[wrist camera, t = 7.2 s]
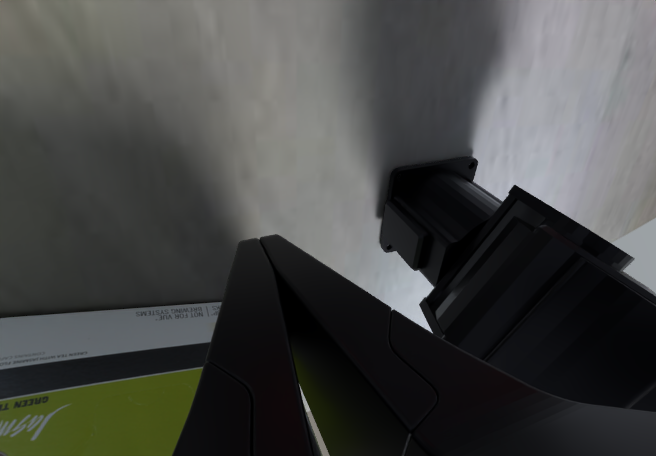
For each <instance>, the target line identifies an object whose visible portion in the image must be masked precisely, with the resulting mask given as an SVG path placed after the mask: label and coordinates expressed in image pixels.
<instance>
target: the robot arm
mask: <svg viewBox="0 0 656 456" xmlns="http://www.w3.org/2000/svg"><path fill="white" fill-rule="evenodd" d="M469 164H470V165H469ZM477 165H478V161H477V160H476V159H475V158H473V157H471V156H469V157H462V158H456V159H450V160H444V161H437V162H431V163H425V164H418V165H412V166H406V167H400V168H396V169H395V170H393V172H392V173H391V176H390V183H389V190H388V198H387V202H386V204H385V211H384V218H383V225H382V240H381V248H382V249H383V250H384V252H386V253H388V252H393V251H397V252H398V254H399V255H400V256H401V257H402V258H403V259H404V260H405V262H406V263H407V264H408V265H409V266H410V267H411V268H412V269H413V270H414V271H416V270H419V271H420V272H421V273H422V274H423V275H424V276H425V277H426V278H427V280H428V281H429V282H430V283H431V284H432V285H433V286H434V289H433V290H432V291H431V293H430V294H429V295H428V296H427V298H426V297H425V298H424V299H423V300H422V301H421V303H420V304H419V305H420V307H421V309H422V312H423V314H424V316H425V318H426V320H427V322H428V324H429V326H430V328H431V330H432V332H433V333H431V332H429V331H428V330H426V329H425V328H423V327H421V326H420V325H418V324H416V323H415V322H413V321H411V320H410V319H408V318H407V317H405V316H404V315H402V314H401V313H399V312H397V311H396V310H392V311H391V307H389V306H388V305H386V304H385V303H383V302H382V301H380V300H379V299H377V298H376V297H374V296H372V295H371V294H369V293H368V292H366V291H365V290H363V289H362V288H360V287H359V286H357V285H355V284H354V283H352V282H351V281H349V280H348V279H346V278H345V277H343V276H342V275H340V274H338V273H337V272H335V271H334V270H332V269H331V268H329V267H328V266H326V265H325V264H323V263H321V262H320V261H318V260H317V259H315V258H314V257H312V256H311V255H309V254H308V253H306V252H304V251H303V250H301V249H300V248H298V247H297V246H295V245H294V244H292V243H291V242H289V241H287V240H286V239H284V238H283V237H281V236H280V235H277V234H275V235H269V236H264V237H261V238H260V239H257V238H254V239H248V240H243V241H240V242H239V244H238V247H237V250H236V254H235V257H234V261H233V264H232V268H231V271H230V275H229V278H228V282H227V286H226V289H225V293H224V296H223V300H222V303H221V307H220V310H219V314H218V317H217V321H216V324H215V328H214V331H213V335H212V338H211V342H210V346H209V349H208V353H207V356H206V360H205V361H206V363H205V364H204V366H203V369H202V373H201V376H200V380H199V383H198V386H197V389H196V392H195V396H194V399H193V402H192V405H191V408H190V411H189V414H188V416H187V419H186V421H185V424H184V426H183V429H182V431H181V434H180V436H179V439H178V441H177V444H176V446H175V449H174V451H173V453H172V456H314V452H313V447H312V442H311V438H310V433H309V428H308V424H307V419H306V414H305V410H304V405H303V400H302V396H301V391H300V387H301V389H302V391H303V394H304V396H305V398H306V401H307V403H308V405H309V408H310V410H311V412H312V415H313V417H314V419H315V422H316V424H317V427H318V429H319V431H320V433H321V436H322V438H323V441H324V443H325V445H326V448H327V450H328V452H329V455H330V456H656V294H655V293H654V292H653V291H652V290H650V289H649V288H648V287H646V286H645V285H643V284H642V283H640V282H638V281H637V280H635V279H634V278H632V277H631V276H629V275H628V274H626V273H625V272H623V270H624V269H625V268H626V267H627V266H628V265H629V264H630V263H631V262H632V261H633V260H634V258H633V257H631V256H630V255H628V254H627V253H625V252H624V251H622V250H620V249H619V248H617V247H615V246H614V245H613V244H611V243H609V242H608V241H606V240H605V239H603V238H601V237H600V236H598V235H597V234H595V233H593V232H592V231H590V230H588V229H587V228H585V227H584V226H582V225H580V224H579V223H577V222H575V221H574V220H572V219H571V218H569V217H567V216H566V215H564V214H562V213H561V212H559V211H557V210H556V209H554V208H552V207H551V206H549V205H547V204H546V203H544V202H543V201H541V200H539V199H538V198H536V197H534V196H533V195H531V194H529V193H528V192H526V191H524V190H523V189H521V188H519V187H518V186H516V185H514V186H513V187H512V188H511V190H510V191H509V192H508V193H509V195H508V196H507V197H506V199H505V200H504V201H503V202H502V201H501V200H499V199H498V198H496V197H495V196H494V195H492V194H491V193H489V192H488V191H486V190H485V189H483V188H482V187H480V186H479V185H477V184H476V183H474V182H473V179H474V176H475V172H476V169H477ZM400 174H401V176H400V177H399V178H397V177H398V176H399V175H400ZM299 384H300V386H299Z"/></svg>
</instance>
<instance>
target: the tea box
mask: <svg viewBox="0 0 656 456" xmlns="http://www.w3.org/2000/svg"><path fill="white" fill-rule="evenodd" d="M221 303H222V302H214V303H201V304H186V305H173V306H159V307H145V308H131V309H118V310H104V311H90V312H77V313H63V314H50V315H35V316H21V317H7V318H0V456H172V453H173V451H174V449H175V446H176V444H177V441H178V439H179V436H180V434H181V431H182V429H183V426H184V424H185V421H186V419H187V416H188V414H189V411H190V408H191V405H192V402H193V399H194V396H195V392H196V389H197V386H198V383H199V380H200V376H201V373H202V369H203V366H204V364H205V363H206V361H205V360H206V356H207V353H208V349H209V346H210V342H211V338H212V335H213V331H214V328H215V324H216V321H217V317H218V314H219V310H220V307H221ZM303 405H304V404H303ZM304 410H305V414H306V419H307V424H308V428H309V433H310V438H311V442H312V447H313V452H314V456H322V453H321V451H320V448H319V445H318V442H317V439H316V437H315V434H314V431H313V429H312V426H311V423H310V421H309V418H308V415H307V412H306V409H305V407H304Z"/></svg>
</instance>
